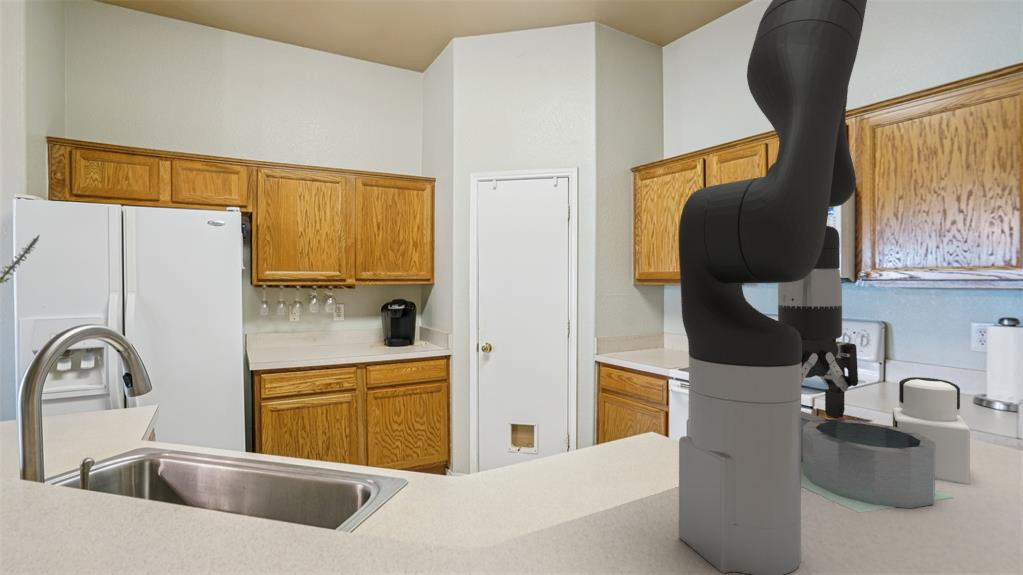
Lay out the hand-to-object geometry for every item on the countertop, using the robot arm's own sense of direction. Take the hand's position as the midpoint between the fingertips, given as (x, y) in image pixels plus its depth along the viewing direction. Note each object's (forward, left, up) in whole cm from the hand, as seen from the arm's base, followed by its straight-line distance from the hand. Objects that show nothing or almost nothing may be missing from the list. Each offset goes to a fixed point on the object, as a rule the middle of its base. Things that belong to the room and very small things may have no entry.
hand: (809, 419), depth 67 cm
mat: (-2, -6, -6) cm, 8 cm away
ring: (-1, -9, -5) cm, 10 cm away
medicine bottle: (+12, -7, -6) cm, 15 cm away
